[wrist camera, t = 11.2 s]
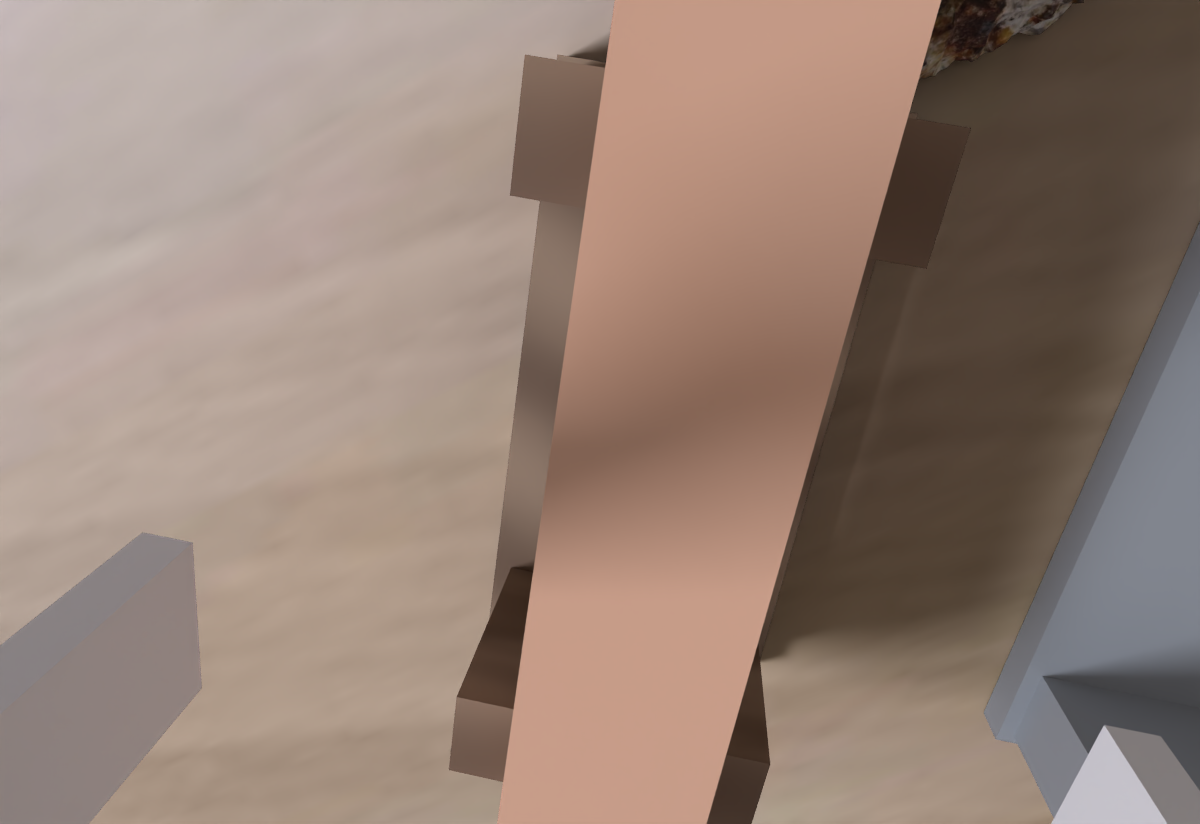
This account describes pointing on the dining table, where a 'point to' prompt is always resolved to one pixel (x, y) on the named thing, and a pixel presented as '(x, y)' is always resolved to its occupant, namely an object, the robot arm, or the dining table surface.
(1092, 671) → the stand
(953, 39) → the mineral rock
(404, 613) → the dining table surface
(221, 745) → the dining table surface
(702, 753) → the salmon pink square bar
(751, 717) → the bronze cradle base
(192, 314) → the dining table surface
